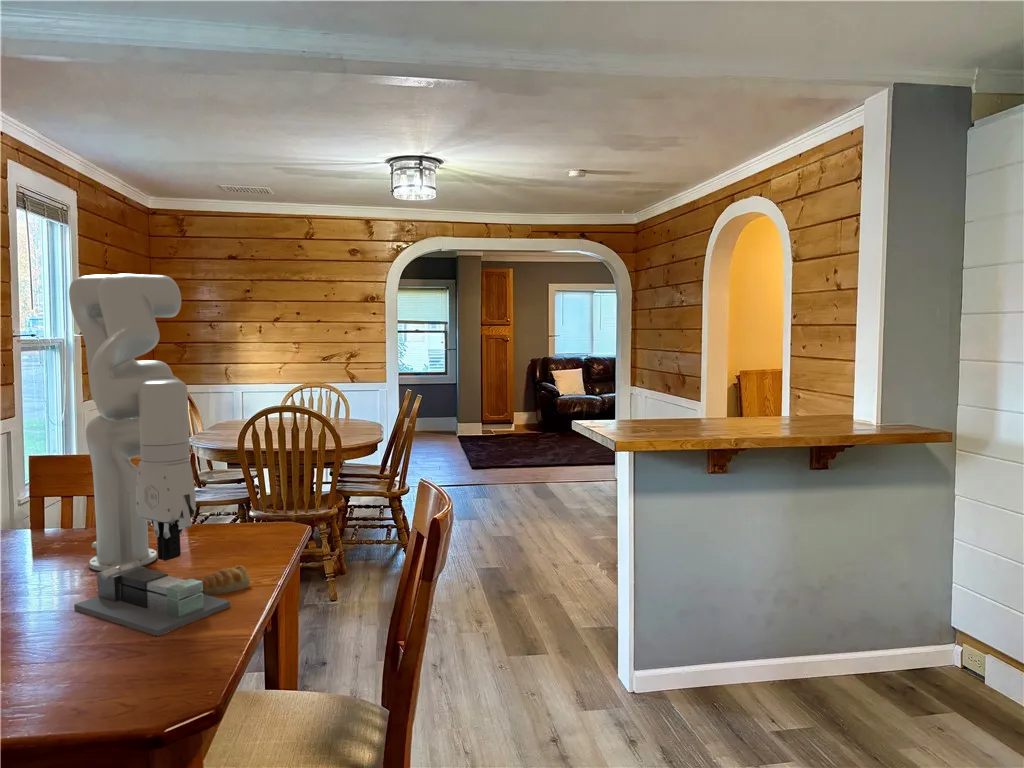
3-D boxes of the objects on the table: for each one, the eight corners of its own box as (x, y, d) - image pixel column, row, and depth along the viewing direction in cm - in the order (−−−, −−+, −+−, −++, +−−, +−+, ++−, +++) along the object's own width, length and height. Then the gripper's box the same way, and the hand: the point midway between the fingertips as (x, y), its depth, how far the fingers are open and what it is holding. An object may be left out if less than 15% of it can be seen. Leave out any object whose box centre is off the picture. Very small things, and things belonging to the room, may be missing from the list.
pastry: (203, 601, 131) (202, 580, 131) (189, 591, 136) (188, 571, 136) (253, 587, 138) (252, 568, 138) (238, 579, 143) (237, 560, 142)
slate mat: (74, 609, 127) (74, 604, 127) (148, 584, 139) (148, 579, 139) (157, 636, 116) (157, 630, 116) (230, 606, 128) (229, 601, 128)
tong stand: (97, 597, 130) (95, 568, 130) (131, 586, 136) (129, 558, 135) (174, 620, 119) (173, 588, 119) (207, 607, 125) (206, 577, 125)
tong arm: (119, 583, 128) (118, 575, 128) (144, 575, 132) (144, 567, 132) (178, 599, 120) (177, 590, 120) (203, 590, 124) (202, 581, 124)
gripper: (117, 451, 123) (122, 556, 125) (174, 461, 116) (178, 572, 117) (157, 445, 129) (161, 544, 131) (213, 453, 122) (217, 559, 124)
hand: (169, 557), depth 124 cm, fingers closed
